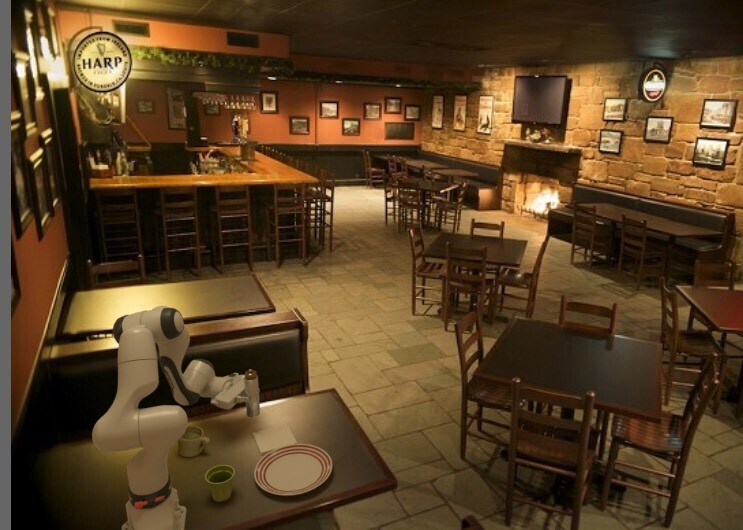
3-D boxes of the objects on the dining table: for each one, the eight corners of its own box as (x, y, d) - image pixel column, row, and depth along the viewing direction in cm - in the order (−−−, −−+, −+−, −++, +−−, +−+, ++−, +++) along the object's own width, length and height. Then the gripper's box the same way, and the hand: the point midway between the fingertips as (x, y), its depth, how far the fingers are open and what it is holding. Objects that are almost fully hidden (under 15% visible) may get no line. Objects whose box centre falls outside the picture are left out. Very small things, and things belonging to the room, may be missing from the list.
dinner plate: (239, 492, 172) (238, 484, 171) (277, 444, 197) (276, 437, 197) (314, 510, 165) (313, 502, 164) (343, 458, 190) (343, 450, 189)
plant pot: (219, 483, 176) (217, 461, 174) (242, 490, 173) (240, 468, 171) (201, 501, 168) (198, 479, 166) (225, 509, 165) (222, 486, 162)
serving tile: (297, 445, 196) (297, 442, 196) (261, 455, 191) (261, 452, 190) (286, 426, 209) (286, 423, 208) (252, 435, 203) (252, 432, 202)
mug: (167, 451, 190) (174, 426, 189) (188, 444, 199) (195, 420, 198) (189, 467, 185) (197, 442, 184) (210, 459, 194) (217, 435, 193)
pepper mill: (261, 415, 200) (258, 370, 194) (248, 418, 198) (245, 373, 192) (258, 408, 204) (255, 364, 199) (245, 412, 202) (242, 367, 197)
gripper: (207, 395, 192) (238, 401, 188) (237, 370, 211) (266, 376, 207) (208, 409, 194) (239, 416, 190) (238, 384, 213) (267, 390, 208)
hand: (254, 395), depth 198 cm, fingers closed on pepper mill, 5 cm apart
